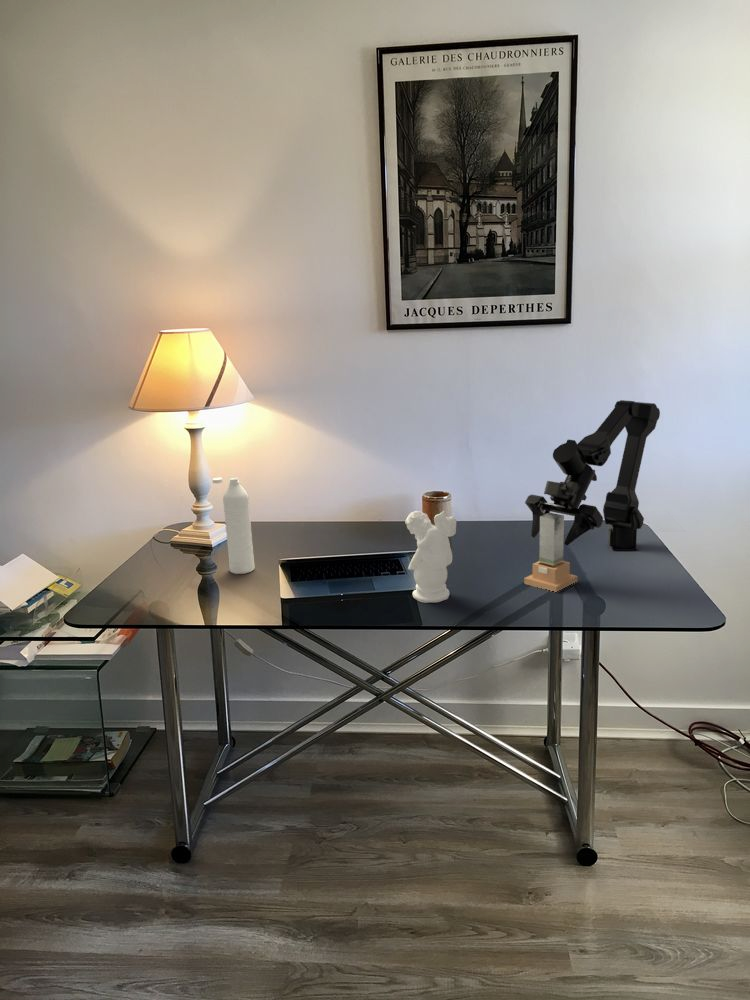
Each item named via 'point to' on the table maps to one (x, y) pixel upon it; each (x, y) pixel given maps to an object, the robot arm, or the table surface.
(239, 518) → the water bottle
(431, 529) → the cherub figurine
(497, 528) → the table surface
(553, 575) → the stand
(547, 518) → the column
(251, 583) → the table surface
